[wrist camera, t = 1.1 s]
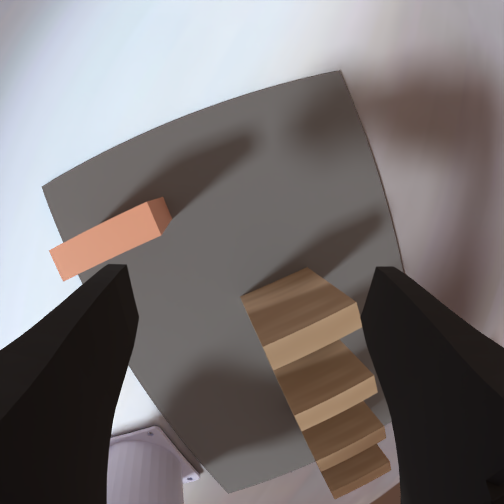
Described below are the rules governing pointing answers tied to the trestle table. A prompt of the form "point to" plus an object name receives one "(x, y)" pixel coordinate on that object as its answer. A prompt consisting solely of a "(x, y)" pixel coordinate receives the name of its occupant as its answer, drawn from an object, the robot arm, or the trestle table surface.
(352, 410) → the domino
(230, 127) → the mat
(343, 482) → the domino
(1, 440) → the robot arm
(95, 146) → the trestle table surface
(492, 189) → the trestle table surface
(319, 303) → the domino
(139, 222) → the domino
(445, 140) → the trestle table surface
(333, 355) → the domino
